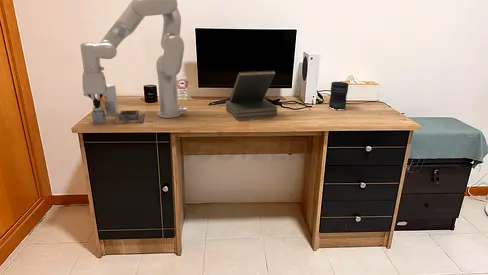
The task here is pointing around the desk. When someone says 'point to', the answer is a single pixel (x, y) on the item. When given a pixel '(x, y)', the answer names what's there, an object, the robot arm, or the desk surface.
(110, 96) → the small box
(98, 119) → the button post
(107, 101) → the block
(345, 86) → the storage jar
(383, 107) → the desk surface
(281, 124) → the desk surface
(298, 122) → the desk surface
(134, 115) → the square base with tray
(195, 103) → the desk surface
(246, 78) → the tilted panel stand
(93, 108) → the button
